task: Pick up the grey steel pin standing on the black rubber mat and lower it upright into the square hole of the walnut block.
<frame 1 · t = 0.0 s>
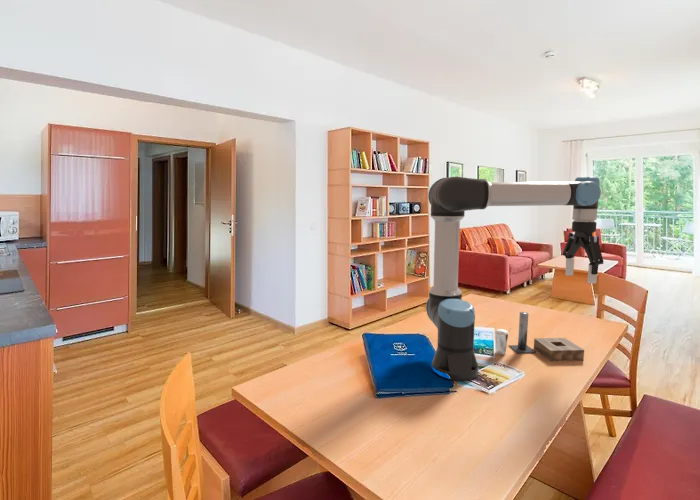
hand: (579, 279, 144), 28 cm above the table, fingers open, 13 cm apart
hole block: (557, 354, 147), on the table
mat: (522, 349, 151), on the table
pin: (523, 330, 150), on the mat
milkshake: (501, 353, 148), on the table
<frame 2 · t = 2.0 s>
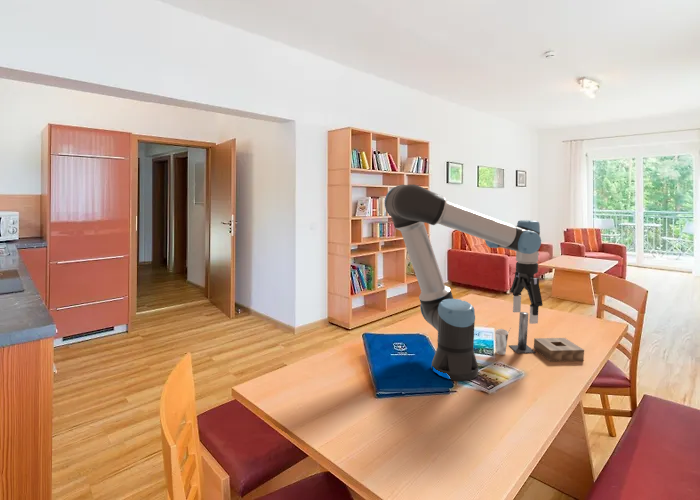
hand: (524, 317, 150), 13 cm above the table, fingers open, 13 cm apart
nothing on the table moved.
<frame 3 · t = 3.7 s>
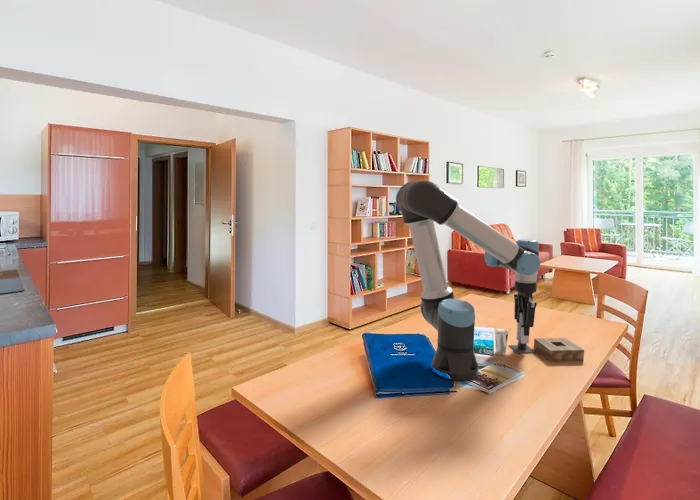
hand: (522, 341, 151), 3 cm above the table, fingers closed on pin, 3 cm apart
pin: (523, 330, 150), on the mat, touching gripper
everything else where it was.
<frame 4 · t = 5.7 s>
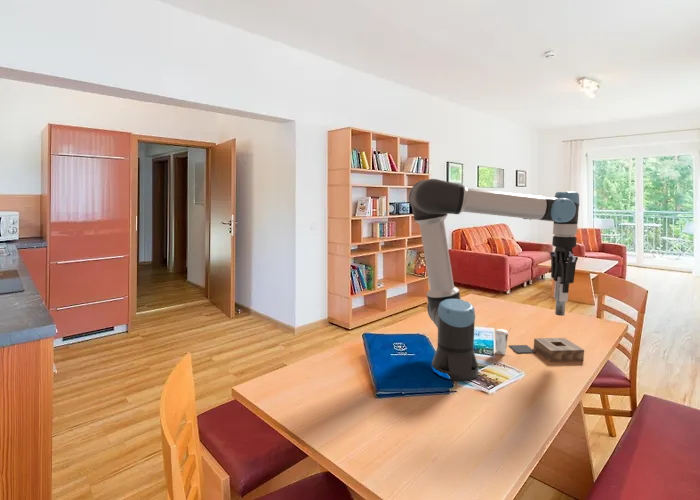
hand: (560, 299, 144), 21 cm above the table, fingers closed on pin, 3 cm apart
pin: (561, 295, 144), point 22 cm above the table, touching gripper
everything else where it was.
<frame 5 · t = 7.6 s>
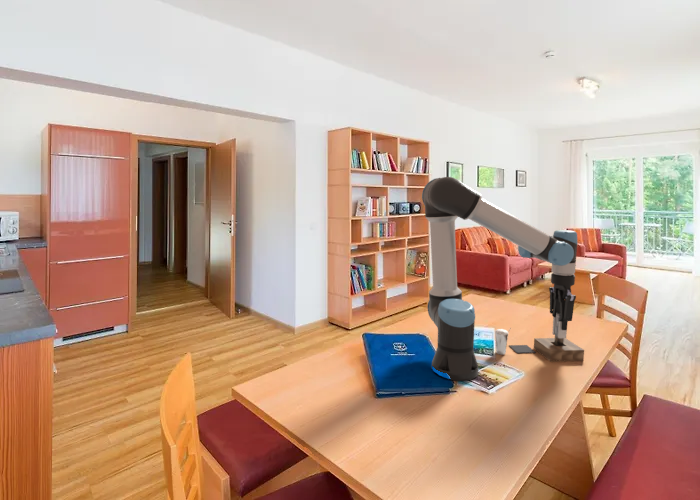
hand: (559, 335, 146), 7 cm above the table, fingers closed on pin, 3 cm apart
pin: (559, 332, 145), in the hole block, point 8 cm above the table, touching gripper
everything else where it was.
when the fingers open (5 cm above the table, at t = 8.1 s): pin stays where it is, resting in hole block.
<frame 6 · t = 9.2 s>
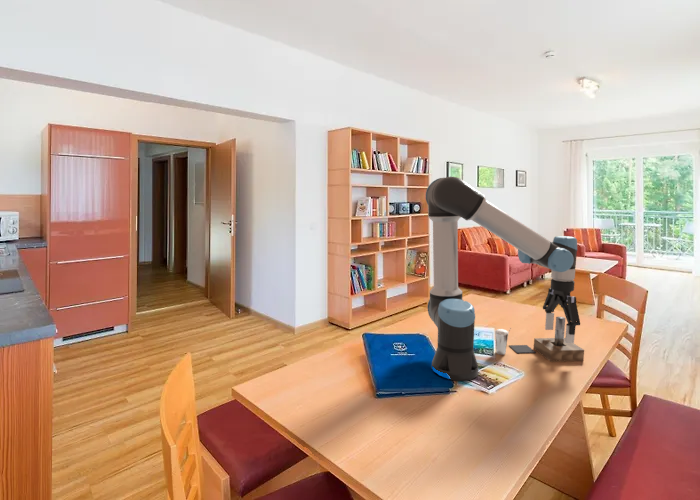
hand: (558, 335, 146), 7 cm above the table, fingers open, 13 cm apart
pin: (559, 336, 146), in the hole block
everything else where it was.
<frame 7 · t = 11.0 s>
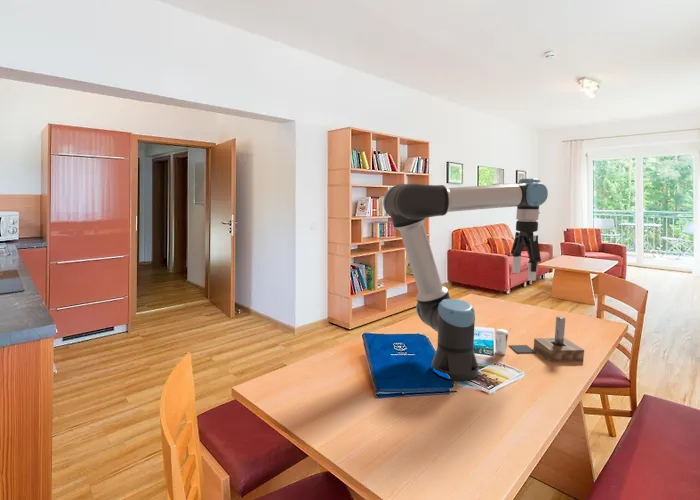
hand: (523, 276, 151), 28 cm above the table, fingers open, 13 cm apart
nothing on the table moved.
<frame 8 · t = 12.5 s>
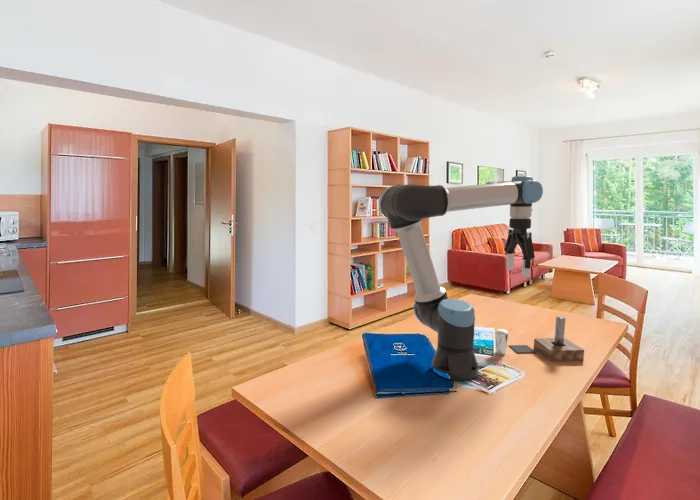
hand: (517, 273, 152), 29 cm above the table, fingers open, 13 cm apart
nothing on the table moved.
at the end: pin 0.2 cm off-centre on the hole block, point 7.0 cm above the hole block's base; pin tilted 0°; the gripper is holding nothing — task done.
